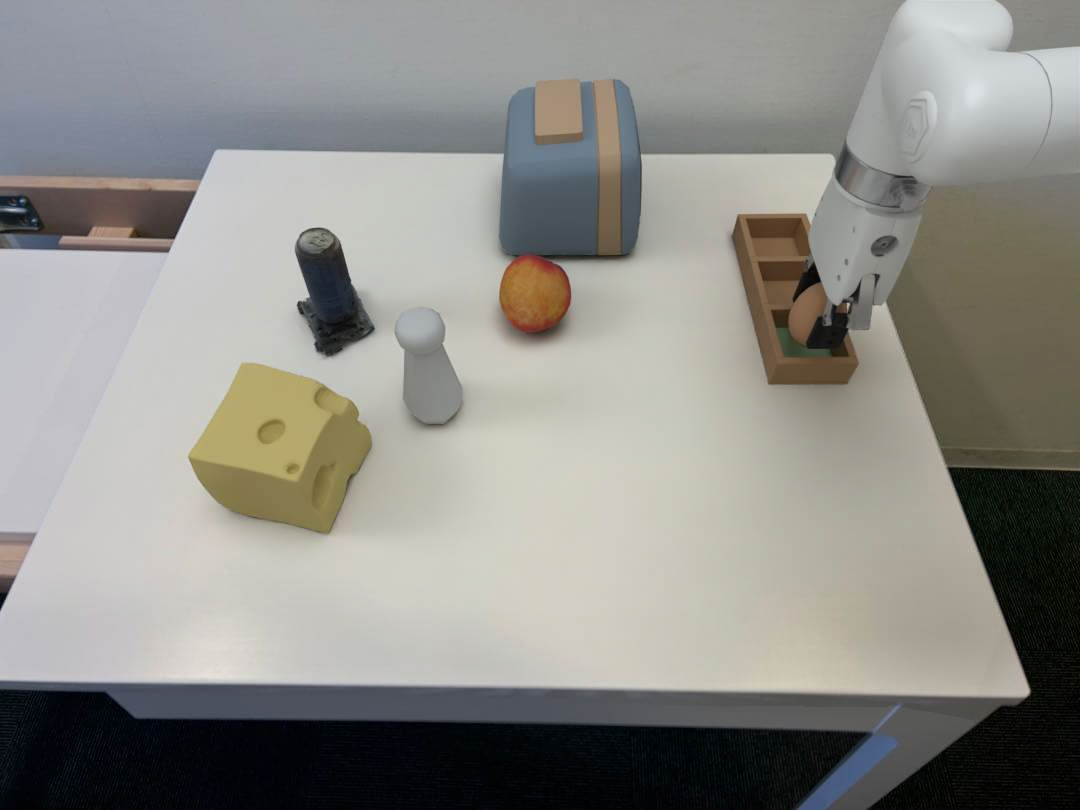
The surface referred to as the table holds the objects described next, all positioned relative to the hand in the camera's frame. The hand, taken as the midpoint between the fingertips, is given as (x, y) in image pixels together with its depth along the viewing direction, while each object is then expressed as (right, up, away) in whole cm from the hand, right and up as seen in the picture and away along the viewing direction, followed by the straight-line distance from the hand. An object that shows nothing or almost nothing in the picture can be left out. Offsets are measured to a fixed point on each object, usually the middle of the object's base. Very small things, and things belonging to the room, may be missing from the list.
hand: (815, 322), depth 70 cm
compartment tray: (0, +3, +9) cm, 9 cm away
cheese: (-50, -15, -4) cm, 52 cm away
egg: (0, -2, +2) cm, 3 cm away
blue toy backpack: (-24, +15, +17) cm, 33 cm away
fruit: (-28, +1, +7) cm, 29 cm away
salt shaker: (-38, -9, 0) cm, 39 cm away
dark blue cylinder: (-50, +1, +7) cm, 51 cm away
